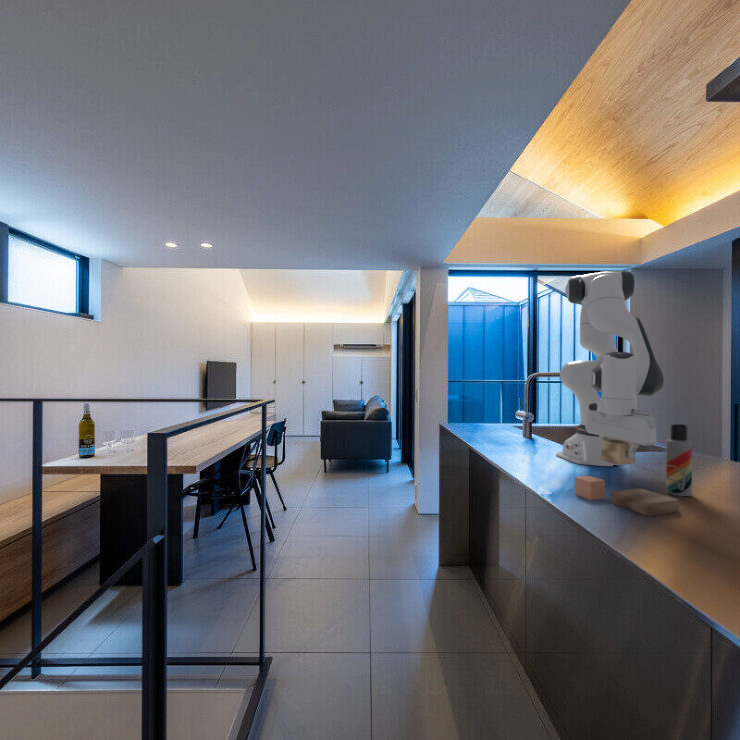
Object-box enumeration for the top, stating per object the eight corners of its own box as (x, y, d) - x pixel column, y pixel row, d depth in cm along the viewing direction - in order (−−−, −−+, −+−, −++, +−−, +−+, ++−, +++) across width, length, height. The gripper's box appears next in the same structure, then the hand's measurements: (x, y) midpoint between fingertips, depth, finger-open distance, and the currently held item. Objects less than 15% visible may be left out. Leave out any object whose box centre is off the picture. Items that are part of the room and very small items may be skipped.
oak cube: (601, 459, 115) (601, 440, 114) (616, 458, 116) (616, 438, 116) (619, 465, 109) (619, 444, 109) (635, 463, 111) (635, 442, 110)
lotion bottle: (670, 495, 108) (670, 424, 108) (663, 489, 113) (663, 422, 113) (695, 498, 106) (695, 425, 106) (686, 491, 111) (686, 422, 111)
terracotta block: (575, 494, 109) (575, 477, 109) (589, 492, 110) (589, 475, 110) (590, 500, 104) (590, 481, 104) (604, 498, 106) (604, 480, 106)
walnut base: (611, 502, 102) (611, 491, 102) (639, 499, 105) (639, 488, 105) (649, 516, 92) (649, 504, 92) (678, 511, 95) (678, 499, 95)
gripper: (663, 411, 103) (662, 462, 104) (597, 403, 123) (596, 445, 123) (645, 413, 101) (644, 464, 102) (581, 403, 121) (581, 447, 121)
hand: (617, 454), depth 113 cm, fingers closed on oak cube, 6 cm apart
